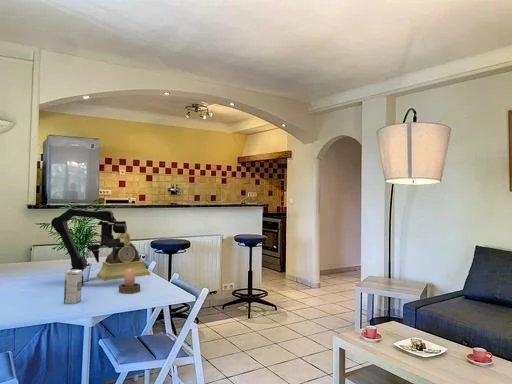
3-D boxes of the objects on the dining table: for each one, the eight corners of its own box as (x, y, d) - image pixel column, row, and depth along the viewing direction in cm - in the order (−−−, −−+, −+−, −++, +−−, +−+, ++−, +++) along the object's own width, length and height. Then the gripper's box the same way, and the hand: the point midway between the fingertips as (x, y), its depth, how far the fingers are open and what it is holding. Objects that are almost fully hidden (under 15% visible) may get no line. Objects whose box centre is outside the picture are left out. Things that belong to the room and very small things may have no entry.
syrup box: (68, 300, 179) (69, 269, 179) (81, 300, 180) (82, 269, 180) (63, 303, 174) (64, 271, 174) (76, 303, 174) (77, 271, 174)
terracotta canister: (124, 291, 195) (125, 270, 195) (124, 289, 200) (124, 268, 200) (135, 290, 197) (135, 269, 197) (134, 288, 202) (134, 267, 202)
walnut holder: (125, 294, 191) (125, 288, 191) (115, 290, 198) (115, 285, 198) (144, 291, 199) (144, 285, 199) (133, 287, 206) (133, 282, 206)
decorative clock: (104, 281, 221) (105, 229, 221) (97, 277, 230) (98, 227, 231) (150, 275, 239) (151, 227, 239) (141, 271, 248) (142, 225, 249)
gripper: (96, 235, 198) (96, 265, 198) (129, 233, 212) (129, 261, 212) (87, 233, 205) (86, 262, 205) (119, 231, 219) (119, 258, 219)
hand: (106, 261), depth 210 cm, fingers open, 9 cm apart
